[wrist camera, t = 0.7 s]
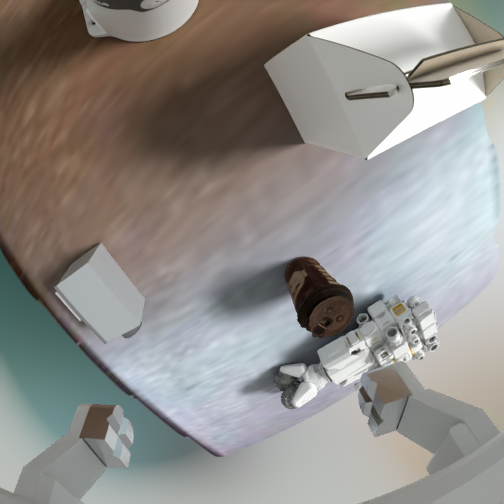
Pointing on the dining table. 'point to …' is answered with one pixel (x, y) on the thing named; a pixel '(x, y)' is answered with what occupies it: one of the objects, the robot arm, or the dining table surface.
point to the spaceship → (364, 349)
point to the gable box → (386, 76)
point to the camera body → (102, 295)
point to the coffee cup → (318, 298)
